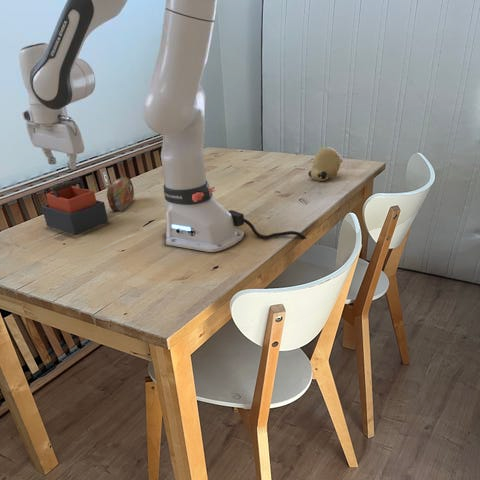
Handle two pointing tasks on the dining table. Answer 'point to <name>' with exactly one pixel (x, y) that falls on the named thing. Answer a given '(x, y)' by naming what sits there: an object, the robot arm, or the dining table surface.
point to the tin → (120, 193)
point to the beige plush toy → (325, 164)
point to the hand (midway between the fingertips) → (62, 166)
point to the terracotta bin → (71, 197)
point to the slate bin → (76, 218)
